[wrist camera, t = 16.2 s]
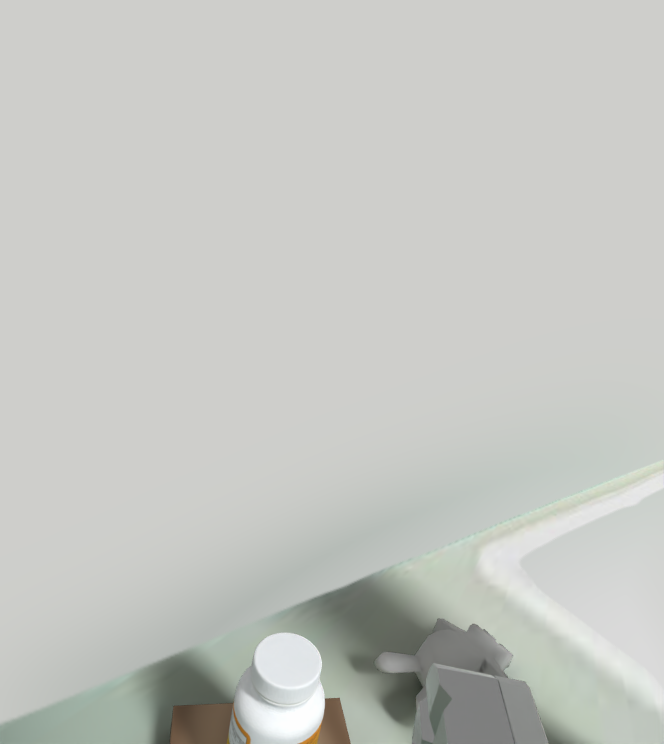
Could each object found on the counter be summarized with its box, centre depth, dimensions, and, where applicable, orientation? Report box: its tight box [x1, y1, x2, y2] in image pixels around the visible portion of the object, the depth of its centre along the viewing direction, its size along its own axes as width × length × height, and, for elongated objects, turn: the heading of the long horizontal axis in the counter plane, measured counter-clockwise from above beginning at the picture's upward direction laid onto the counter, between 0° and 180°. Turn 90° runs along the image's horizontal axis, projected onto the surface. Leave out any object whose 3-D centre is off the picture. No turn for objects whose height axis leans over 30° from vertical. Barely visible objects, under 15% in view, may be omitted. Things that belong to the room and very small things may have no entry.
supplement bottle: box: [227, 633, 325, 744], centre depth 36 cm, size 6×6×11 cm
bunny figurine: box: [374, 619, 513, 712], centre depth 52 cm, size 10×5×15 cm
